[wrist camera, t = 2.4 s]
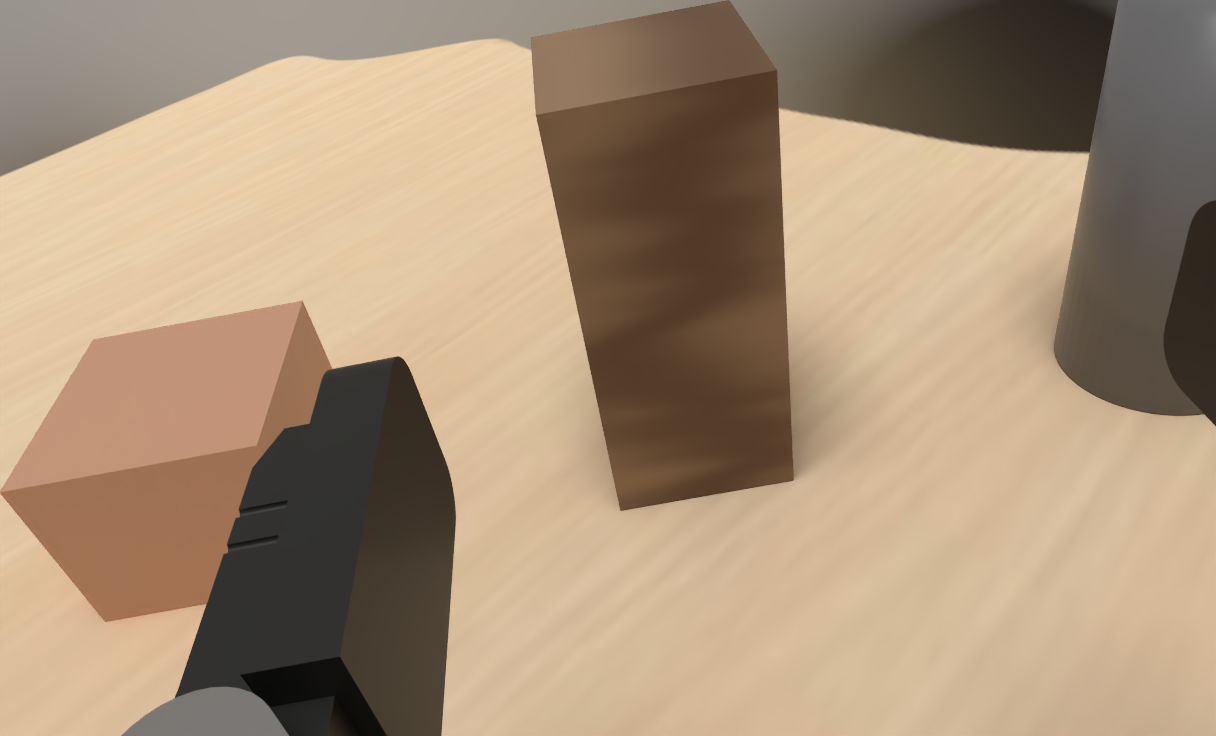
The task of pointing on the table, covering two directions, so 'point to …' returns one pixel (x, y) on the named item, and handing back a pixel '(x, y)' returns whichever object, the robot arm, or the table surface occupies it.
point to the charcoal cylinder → (1141, 202)
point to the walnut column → (674, 244)
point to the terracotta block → (163, 452)
